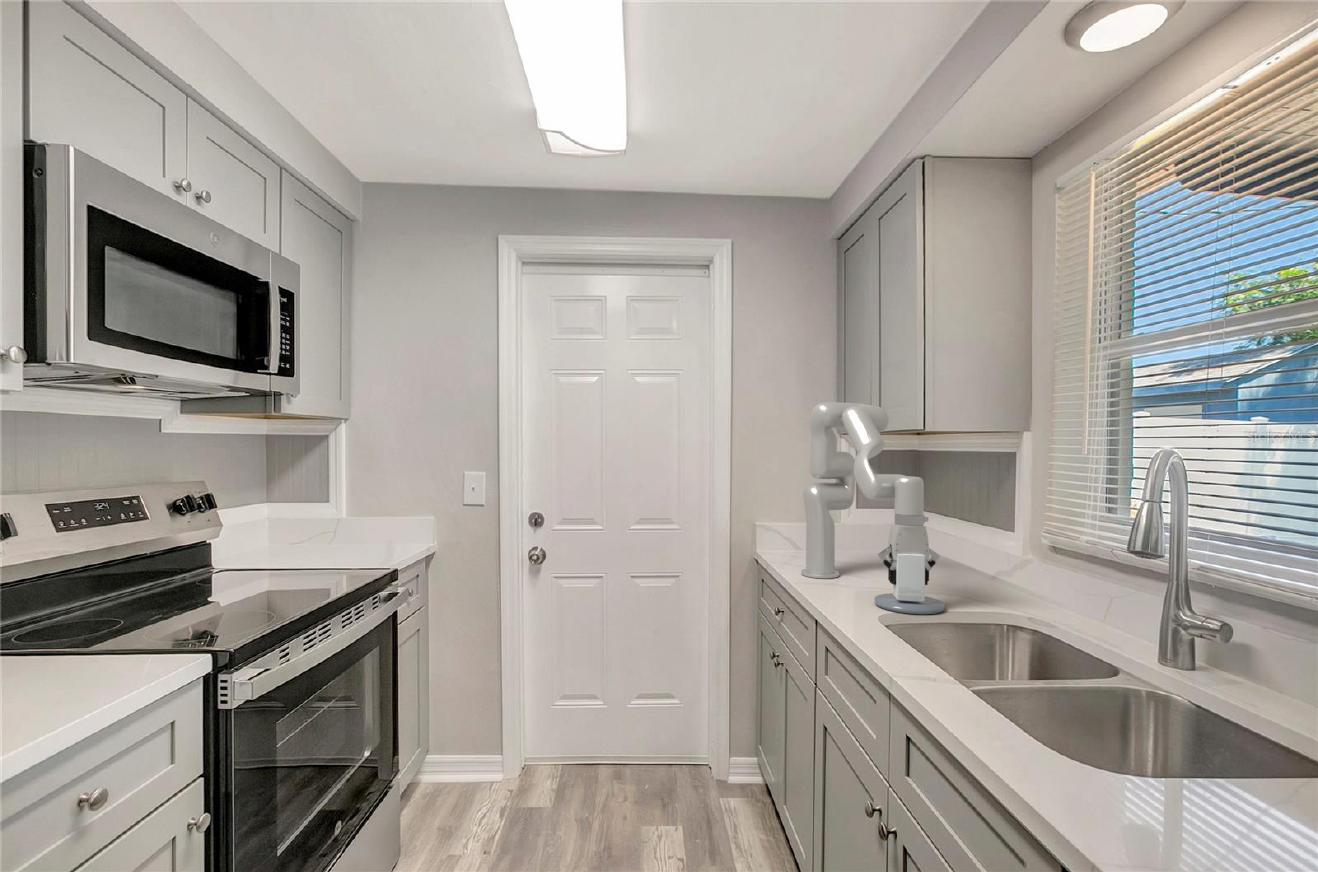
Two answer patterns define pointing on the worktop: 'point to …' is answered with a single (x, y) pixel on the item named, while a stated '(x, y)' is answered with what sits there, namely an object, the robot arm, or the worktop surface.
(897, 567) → the supplement box
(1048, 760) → the worktop surface
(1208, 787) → the worktop surface
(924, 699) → the worktop surface
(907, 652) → the worktop surface
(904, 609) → the slate dish
